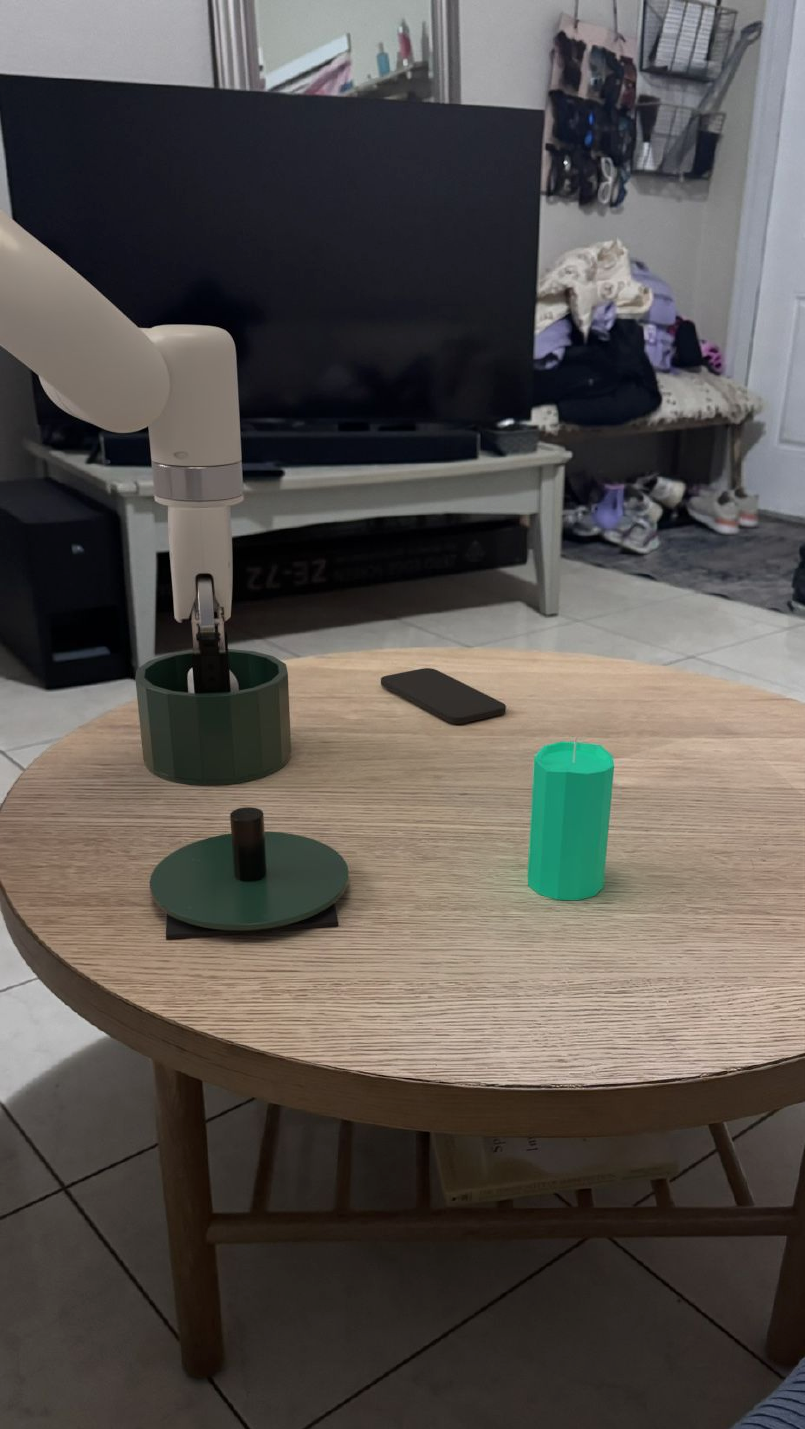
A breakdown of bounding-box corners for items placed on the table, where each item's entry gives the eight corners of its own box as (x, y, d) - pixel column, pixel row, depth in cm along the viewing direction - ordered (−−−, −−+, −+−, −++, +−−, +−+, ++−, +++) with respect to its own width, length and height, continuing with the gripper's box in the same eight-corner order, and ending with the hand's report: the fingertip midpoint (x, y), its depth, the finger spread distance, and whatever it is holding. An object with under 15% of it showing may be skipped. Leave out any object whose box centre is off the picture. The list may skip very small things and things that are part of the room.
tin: (141, 789, 103) (132, 698, 100) (147, 733, 115) (139, 651, 112) (295, 781, 106) (291, 692, 102) (285, 727, 118) (282, 646, 114)
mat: (166, 940, 81) (165, 935, 81) (170, 860, 91) (169, 856, 91) (338, 926, 83) (338, 921, 83) (323, 850, 94) (323, 846, 94)
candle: (561, 856, 94) (571, 716, 89) (619, 883, 90) (633, 739, 85) (510, 880, 90) (517, 735, 85) (568, 909, 86) (580, 759, 81)
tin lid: (146, 946, 79) (138, 867, 77) (154, 849, 92) (147, 779, 90) (359, 929, 82) (358, 852, 80) (338, 837, 95) (336, 769, 92)
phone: (453, 719, 119) (376, 677, 130) (453, 727, 119) (376, 684, 130) (511, 706, 123) (430, 666, 134) (510, 713, 123) (430, 673, 134)
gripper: (156, 466, 106) (172, 657, 114) (149, 501, 91) (168, 719, 99) (240, 466, 108) (250, 655, 116) (246, 501, 93) (257, 715, 101)
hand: (212, 682), depth 107 cm, fingers closed on eye dropper bottle, 5 cm apart
